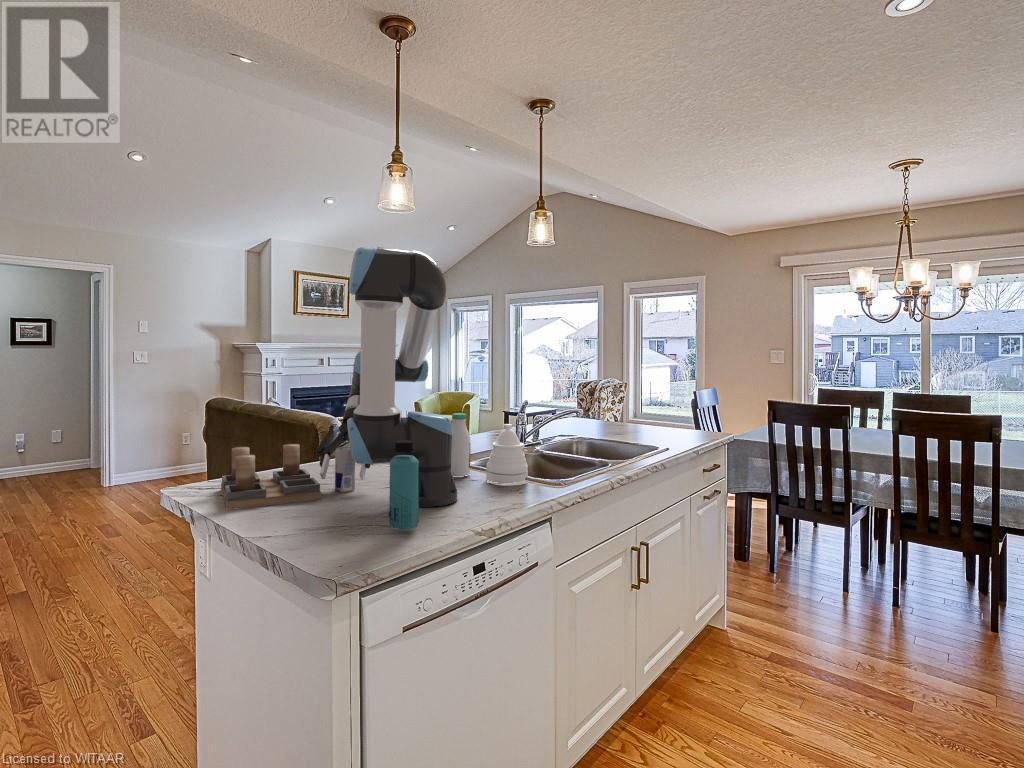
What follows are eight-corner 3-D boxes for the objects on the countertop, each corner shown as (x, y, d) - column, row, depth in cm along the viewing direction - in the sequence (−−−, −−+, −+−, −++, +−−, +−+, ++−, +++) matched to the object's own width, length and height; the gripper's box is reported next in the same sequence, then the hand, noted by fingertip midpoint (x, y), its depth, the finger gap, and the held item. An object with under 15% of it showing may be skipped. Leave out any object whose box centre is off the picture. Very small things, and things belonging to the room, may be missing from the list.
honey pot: (527, 487, 164) (529, 426, 163) (484, 485, 164) (486, 425, 163) (527, 477, 176) (528, 421, 175) (487, 476, 177) (488, 420, 176)
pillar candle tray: (320, 499, 144) (321, 454, 144) (226, 509, 133) (226, 460, 132) (304, 482, 163) (304, 441, 162) (221, 489, 152) (221, 446, 151)
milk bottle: (466, 478, 172) (467, 415, 171) (442, 477, 174) (443, 414, 173) (472, 473, 180) (474, 413, 179) (450, 472, 181) (451, 412, 180)
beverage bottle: (424, 529, 122) (425, 439, 121) (409, 538, 115) (410, 443, 114) (398, 525, 124) (399, 437, 123) (382, 534, 117) (383, 441, 116)
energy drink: (337, 488, 157) (337, 446, 156) (356, 488, 157) (356, 446, 157) (332, 492, 151) (333, 449, 151) (352, 492, 152) (353, 449, 151)
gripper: (396, 422, 169) (385, 484, 154) (322, 421, 169) (303, 483, 154) (393, 406, 163) (381, 470, 149) (316, 405, 163) (296, 468, 148)
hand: (341, 476), depth 151 cm, fingers open, 10 cm apart
